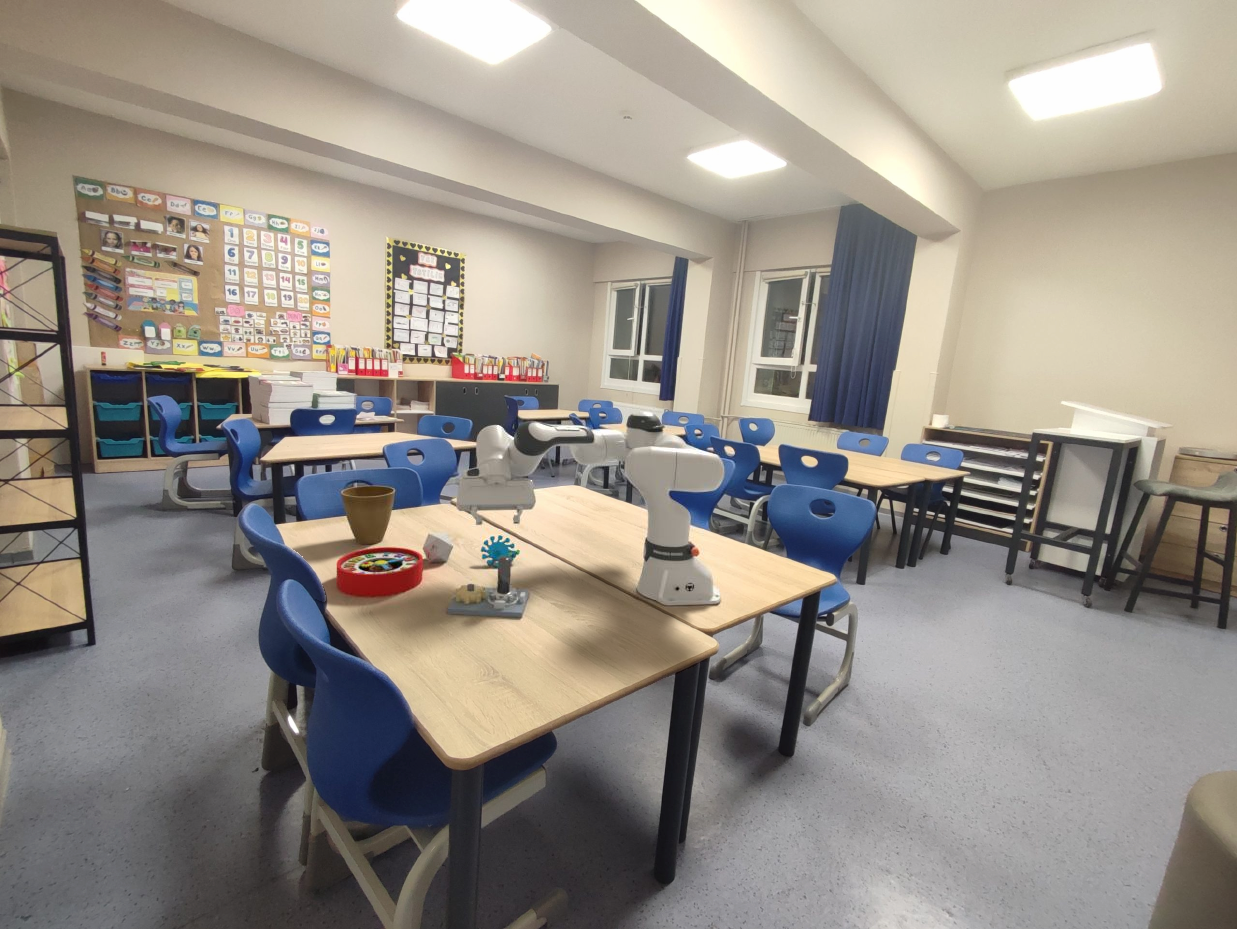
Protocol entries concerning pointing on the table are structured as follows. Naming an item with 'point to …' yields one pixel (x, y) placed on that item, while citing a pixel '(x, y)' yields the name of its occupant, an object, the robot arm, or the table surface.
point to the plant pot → (368, 511)
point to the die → (437, 547)
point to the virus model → (498, 550)
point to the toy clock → (379, 572)
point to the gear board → (486, 602)
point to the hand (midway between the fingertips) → (498, 523)
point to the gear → (503, 582)
